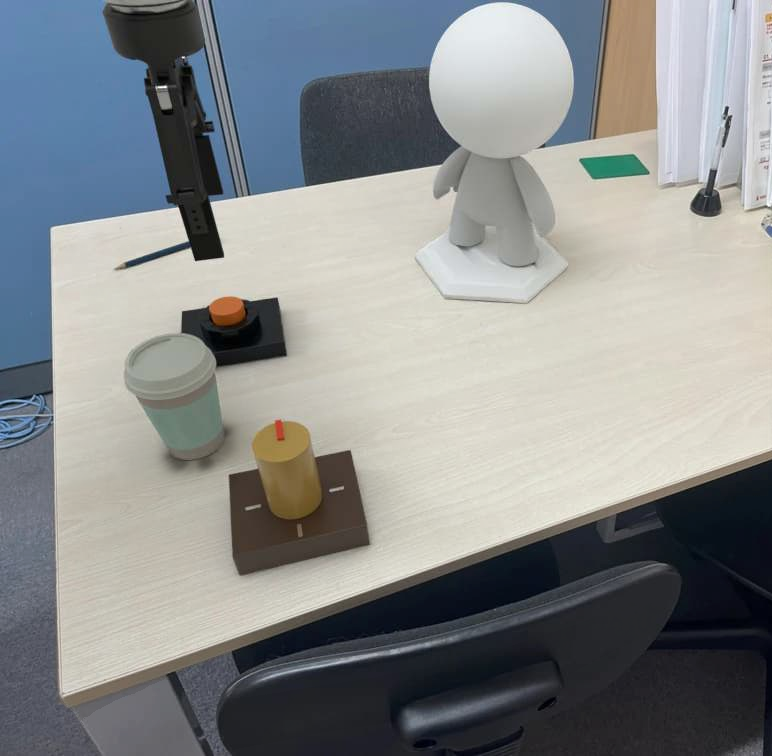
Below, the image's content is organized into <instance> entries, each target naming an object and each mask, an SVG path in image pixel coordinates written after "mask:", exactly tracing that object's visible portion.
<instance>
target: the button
mask: <svg viewBox="0 0 772 756" xmlns="http://www.w3.org/2000/svg"><path fill="white" fill-rule="evenodd" d="M241 299H242V298H240V297H237V296H232V295H231V296H230V295H229V296H223V297H219V298H217V299H214V300H213V301H212V302H211V303H210V304H209V305H210V306H209V305H208V306H209V311H210V314H211V317H212V321H213V322H214V323H215V324H216V325H220V326H227V325H234V324H236V323H238V322H240V321H242V320H244V319H245V317H246V312H245V308H244V305H243V301H242V300H241Z"/></svg>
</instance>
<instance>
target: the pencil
mask: <svg viewBox="0 0 772 756" xmlns="http://www.w3.org/2000/svg"><path fill="white" fill-rule="evenodd" d="M189 248H191V247H190V243H189V240H187V241H184V242H181V243H178V244H175V245H172V246H169V247H167V248H166V247H165V248H163V249H161V250H157V251H154V252H151V253H148V254H144V255H141V256H139V257H136V258H134V259H131V260H128V261H125V262H122V263H121V264H119V265H118V266H116V267H115V268H113V271H114V270H124V269H128V268H131V267H134V266H138V265H141V264H143V263H147V262H150V261H153V260H156V259H159V258H162V257H164V256H169V255H171V254H174V253H177V252H180V251H182V250H186V249H189Z"/></svg>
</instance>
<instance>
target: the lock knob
mask: <svg viewBox="0 0 772 756" xmlns="http://www.w3.org/2000/svg"><path fill="white" fill-rule="evenodd" d="M310 433H311V432H310V431H309V430H308V428H306V427H305V426H304V425H303V424H301V423H299V422H295V421H291V420H285V421H282V419H281V418H280V419H276V420H274V423H271V424H267V426H265V427H263V428H262V429H260V430H259V431H258V432H257V433H256V434H255V435H254V437H253V440H252V443H251V449H252V453H253V456H254V459H255V464H256V467H257V469H258V470H259V474H260V477H261V480H262V484H263V487H264V491H265V494H266V498H267V501H268V504H269V508H270V510H271V511H272V513H273V514H275V515H276V516H278V517H280V518H283V519H299V518H302V517H305V516H307V515H309V514H311V513H312V512H313V511H315V510H316V508H317V507H318V506H319V504H320V503H321V500H322V489H321V485H320V480H319V475H318V470H317V466H316V461H315V457H316V456H315V453H314V447H313V442H312V437H311V434H310Z"/></svg>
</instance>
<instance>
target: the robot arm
mask: <svg viewBox="0 0 772 756" xmlns="http://www.w3.org/2000/svg"><path fill="white" fill-rule="evenodd" d="M101 1H102V2H103V3H105V6H104V8H103V10H102V15H103V18H104V21H105V24H106V27H107V30H108V34H109V37H110V40H111V43H112V46H113V49H114V51H115V52H116V53H117V54H118V55H119V56H121V57H122V58H125V59H127V60H131V61H136V60H138V61H140V62H142V63H144V64H146V65H147V68H146V67H145V74H146V77H143V83H144V92H145V95H146V97H147V99H148V102H149V107H150V109H151V113H152V117H153V121H154V125H155V130H156V135H157V138H158V143H159V148H160V153H161V156H162V157H161V158H162V161H163V164H164V169H165V170H164V171H165V173H166V178H167V182H168V183H167V184H168V187H169V193H170V194H166V195H165V199H166V202H167V204H168V205H170V204H173V206H177V207H178V210H179V213H180V217H181V220H182V223H183V227H184V231H185V233H186V237H187V241H189V243H190V247H189V248H190V249H191V253H192V256H193V260H194V262H201V261H208V260H215V259H224V258H225V253H224V252H225V251H224V248H223V244H222V241H221V238H220V233H219V229H218V226H217V222H216V218H215V215H214V211H213V208H212V204H211V201H210V197H213V196H221V195H222V196H223V195H224V189H223V185H222V181H221V177H220V173H219V169H218V165H217V161H216V157H215V153H214V149H213V146H212V141H211V138H210V135H209V133H215V125H214V122H213V120H208V121H207V112H206V111H205V110H204V106H203V104H202V100H201V98H200V97H201V96H200V94H199V91H198V88H197V87H198V86H197V84H196V78H195V77H196V76H195V72H194V69H193V65H190V63H189V59H188V57H190V56H193V55H195V54H197V53H198V52H199V51H201V50H202V49H203V48H204V47H205V44H206V39H205V34H204V30H203V25H202V21H201V17H200V13H199V9H198V5H197V4H196V2H194V0H101ZM204 134H205V135H204Z"/></svg>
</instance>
